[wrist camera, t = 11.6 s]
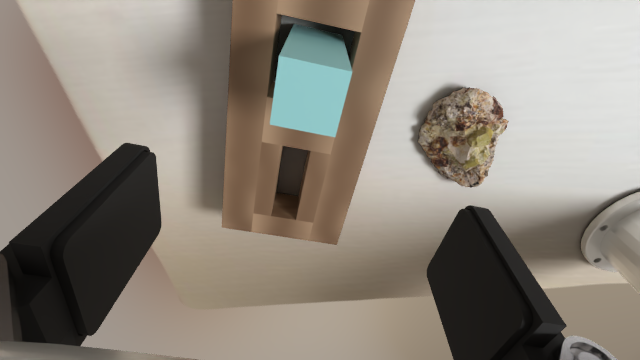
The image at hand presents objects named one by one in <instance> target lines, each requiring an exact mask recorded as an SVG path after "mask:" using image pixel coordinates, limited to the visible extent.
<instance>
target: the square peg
mask: <svg viewBox="0 0 640 360" xmlns="http://www.w3.org/2000/svg"><path fill="white" fill-rule="evenodd" d="M351 76H352V68H351V65H350V61H349V57H348V54H347V50H346V47H345V43H344V40H343V36H342V35H340V34H336V33H332V32H327V31H323V30H319V29H314V28H310V27H306V26H302V25H297V24H294V25H293V27H292V29H291V31H290V34H289V36H288V38H287V40H286V42H285V44H284V46H283V48H282V50H281V53H280V55H279V60H278V67H277V74H276V81H275V89H274V96H273V103H272V111H271V118H270V125H274V126H280V127H285V128H290V129H295V130H300V131H305V132H310V133H315V134H320V135H325V136H331V137H335V136H336V133H337V129H338V125H339V121H340V118H341V114H342V110H343V106H344V102H345V99H346V95H347V91H348V87H349V83H350V80H351Z"/></svg>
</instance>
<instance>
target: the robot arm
mask: <svg viewBox="0 0 640 360" xmlns="http://www.w3.org/2000/svg"><path fill="white" fill-rule="evenodd" d="M160 229H161V212H160V200H159V189H158V177H157V165H156V156H155V154H154V153H152V152H150V150H149V148H148V147H147V146H141V145H136V144H130V143H124V144H123V145H121V146H120V147H119V148H118V149H117V150H116V151H114V152H113V153H112V154H111V155H110V156H109V157H107V158H106V159H105V160H104V161H103V162H102V163H101V164H99V165H98V166H97V167H96V168H95V169H93V170H92V171H91V172H90V173H89V174H88V175H87V176H85V177H84V178H83V179H82V180H81V181H80V182H79V183H77V184H76V185H75V186H74V187H73V188H71V189H70V190H69V191H68V192H67V193H66V194H64V195H63V196H62V197H61V198H60V199H59V200H57V202H55V203H54V204H53V205H52V206H50V207H49V208H48V209H47V210H46V211H45V212H44V213H42V214H41V215H40V216H39V217H38V218H37V219H35V220H34V221H33V222H32V223H31V224H30V225H28V227H26V228H25V229H24V230H23V231H21V232H20V233H19V234H18V235H17V236H16V237H15V238H13V239H12V240H11V241H10V242H9V244H8V245H7V246H6V247H5V248H4V249H3V250H1V251H0V360H196V359H188V358H180V357H172V356H163V355H155V354H147V353H138V352H129V351H119V350H110V349H100V348H91V347H81V344H82V342H83V341H84V340H85V338H86V336H87V335H89V336H91V335H93V334H94V333H96V331H97V330H98V328H99V327H100V325H101V324H102V322H103V321H104V319H105V317H106V316H107V314H108V313H109V311H110V310H111V308H112V306H113V305H114V303H115V302H116V300H117V299H118V297H119V295H120V294H121V292H122V291H123V289H124V288H125V286H126V284H127V283H128V281H129V280H130V278H131V277H132V275H133V273H134V272H135V270H136V268H137V267H138V266H139V264H140V262H141V261H142V259H143V258H144V256H145V255H146V253H147V251H148V250H149V248H150V247H151V245H152V244H153V242H154V240H155V239H156V237H157V236H158V234H159V232H160ZM581 250H582V253H583V255H584V257H585V258H586V259H587V260H588V261H589V262H590V263H591V264H592V265H593V266H595V267H596V268H598V269H601V270H604V271H610V272H619V273H620V275H621V276H622V277H623V278H624V279H625V280H626V281H627V282H628V283H629V284H630V285H631V286H632V287H633V288H634V289H635V290H636V291H637V292H638V293H639V294H640V191H639V192H637V193H634V194H631V195H629V196H627V197H625V198H623V199H621V200H619V201H617V202H615V203H614V204H612V205H611V206H609V207H608V208H606V209H605V210H604V211H602V212H601V213H600V214H599V215H598V216H597V217H596V218H595V219H594V220H593V221H592V222H591V223H590V224H589V226H588V227H587V229H586V230H585V232H584V235H583V237H582V240H581ZM427 278H428V281H429V284H430V287H431V290H432V293H433V297H434V300H435V303H436V306H437V309H438V312H439V315H440V318H441V322H442V325H443V328H444V331H445V334H446V337H447V340H448V343H449V346H450V350H451V352H452V356H453V359H454V360H617V359H616V358H615V357H613V356H612V354H610V353H609V352H608V351H607V350H605V349H604V348H602V347H601V346H600V345H598V344H596V343H594V342H593V341H591V340H589V339H586V338H583V337H580V336H569V337H567V338H564V336H563V335H562V333H561V331H562V330H563V329H564V328H565V327H566V324H565V323H564V321H563V320H562V318H561V317H560V315H559V314H558V312H557V311H556V309H555V308H554V306H553V305H552V303H551V302H550V300H549V299H548V297H547V296H546V294H545V293H544V291H543V290H542V288H541V287H540V285H539V284H538V282H537V281H536V279H535V278H534V276H533V275H532V273H531V272H530V270H529V269H528V267H527V266H526V264H525V263H524V261H523V260H522V258H521V257H520V255H519V254H518V252H517V251H516V249H515V248H514V246H513V245H512V243H511V242H510V240H509V239H508V237H507V236H506V234H505V233H504V231H503V230H502V228H501V227H500V225H499V224H498V222H497V221H496V219H495V218H494V216H493V215H492V213H491V212H490V211H489V209H486V208H481V207H475V206H467V207H466V208H465V209H461V210H460V211H459V212H458V214H457V216H456V217H455V219H454V221H453V223H452V224H451V226H450V228H449V230H448V232H447V233H446V235H445V237H444V239H443V241H442V242H441V244H440V246H439V248H438V249H437V251H436V253H435V255H434V257H433V258H432V260H431V262H430V264H429V266H428V268H427Z"/></svg>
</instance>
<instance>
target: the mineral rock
mask: <svg viewBox="0 0 640 360" xmlns="http://www.w3.org/2000/svg"><path fill="white" fill-rule="evenodd" d="M502 117H503V108H502V107H501V105H500V104H499V102H498V101H497V100H496V98H495V97H491V96H490V95H489V94H488V93H487V92H484V91H482V90H480V89H477V88H470V87H469V88H467V89H466V88H462V89H461V90H459V91H453V93H452V94H450V95H449V96H447V97H444V98H443V99H440V100H438V101H436V102H435V103H434V104H433V108H432V111H429V113H428V116H427V118H426V120H425V122H424V124H423V125H422V126H421V129H420V131H419V136H420V137H419V140H418V143H419V144H421V146H422V148H423V150H424V151H426V154H427V156H428V157H429V158H431V162H432V163H433V164H434V166H435V167H436V168H438V171H439V173H441V174H442V175H445V176H446V177H447V178H451V179H452V180H453V181H456V182H457V183H458V184H459V185H461V186H465V187H476V186H479V185H480V184H481V183H482V182H483V181H484V178H485V177H486V176H488V170H489V167H490V166H491V164H492V161H493V157H494V152H495V146H496V144H497V141H498V136H499V135H500V134H502V133H503V132H504V131H505V129H506V127H507V123H508V121H507V120H506V119H503V118H502Z"/></svg>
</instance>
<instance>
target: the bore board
mask: <svg viewBox="0 0 640 360" xmlns="http://www.w3.org/2000/svg"><path fill="white" fill-rule="evenodd" d="M414 3H415V0H233V4H232V25H231V45H230V66H229V87H228V108H227V128H226V149H225V170H224V191H223V211H222V227H223V228H229V229H236V230H243V231H249V232H256V233H262V234H269V235H275V236H282V237H289V238H295V239H302V240H308V241H315V242H321V243H328V244H335V245H337V242H338V239H339V236H340V233H341V230H342V227H343V224H344V221H345V217H346V214H347V211H348V208H349V205H350V202H351V199H352V196H353V193H354V189H355V186H356V183H357V180H358V177H359V174H360V171H361V168H362V165H363V161H364V158H365V155H366V152H367V149H368V146H369V143H370V140H371V137H372V133H373V130H374V127H375V124H376V121H377V118H378V115H379V112H380V109H381V105H382V102H383V99H384V96H385V93H386V90H387V87H388V84H389V81H390V77H391V74H392V71H393V68H394V65H395V62H396V59H397V56H398V53H399V49H400V46H401V43H402V40H403V37H404V34H405V31H406V28H407V25H408V21H409V18H410V15H411V12H412V9H413V6H414ZM282 15H286V16H290V17H295V18H299V19H303V20H308V21H312V22H317V23H321V24H326V25H330V26H335V27H339V28H343V29H348V30H352V31H355V32H354V36H353V40H352V44H351V48H350V52H349V61H350V65H351V68H352V76H351V80H350V83H349V87H348V91H347V95H346V99H345V102H344V106H343V110H342V114H341V118H340V121H339V125H338V129H337V133H336V136H335V137H331V136H325V135H320V134H315V133H310V132H305V131H300V130H295V129H290V128H285V127H280V126H274V125H270V118H271V111H272V103H273V96H274V89H275V82H273V80H274V72H275V64H276V56H277V48H278V40H279V32H280V24H281V16H282ZM283 146H287V147H292V148H298V149H303V150H308V153H307V158H306V162H305V167H304V172H303V177H302V182H301V187H300V191H299V196H294V195H288V194H282V193H276V189H277V183H278V176H279V170H280V164H281V157H282V151H283Z"/></svg>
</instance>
